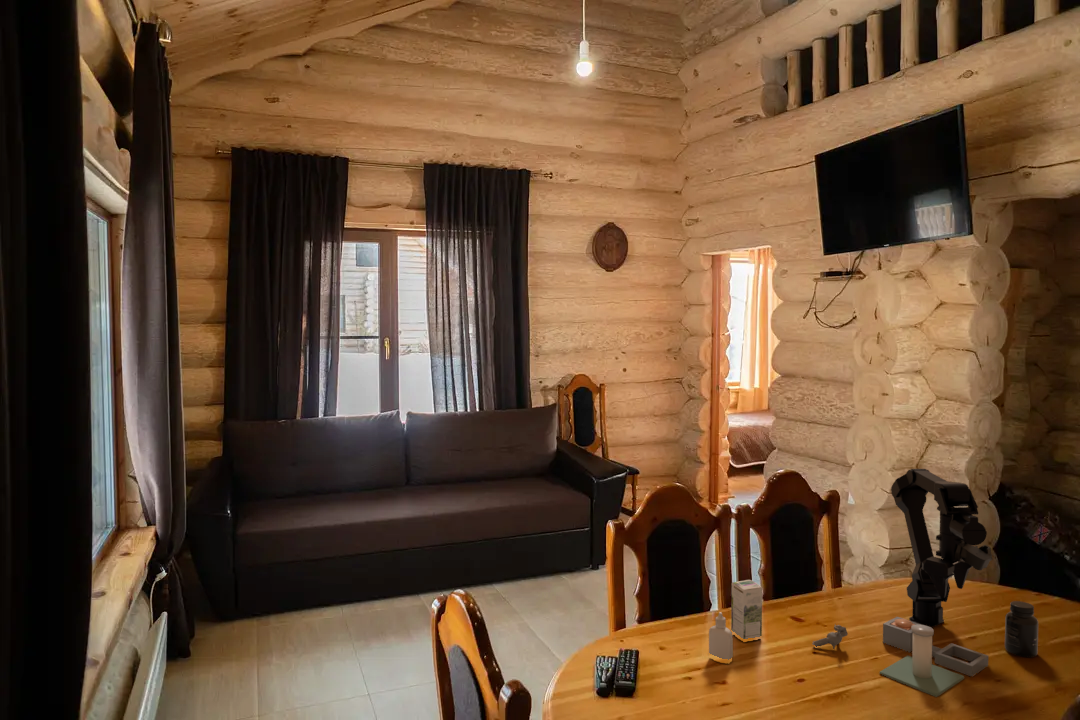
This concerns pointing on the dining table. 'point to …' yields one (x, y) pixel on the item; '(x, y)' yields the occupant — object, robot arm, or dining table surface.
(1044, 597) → the dining table surface
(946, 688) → the green mat
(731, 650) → the eye dropper bottle
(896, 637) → the grey long framed piece
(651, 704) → the dining table surface
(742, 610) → the syrup box
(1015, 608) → the supplement bottle
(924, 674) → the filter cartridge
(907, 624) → the plunger
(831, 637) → the grey limbed figure piece
